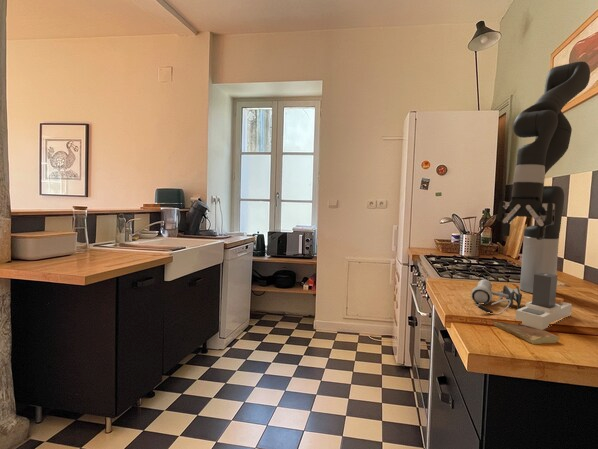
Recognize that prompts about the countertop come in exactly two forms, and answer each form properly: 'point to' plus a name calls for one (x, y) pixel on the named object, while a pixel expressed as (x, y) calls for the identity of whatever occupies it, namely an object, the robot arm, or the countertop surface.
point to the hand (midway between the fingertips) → (522, 237)
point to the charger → (544, 290)
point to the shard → (528, 333)
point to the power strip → (542, 314)
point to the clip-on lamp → (485, 294)
